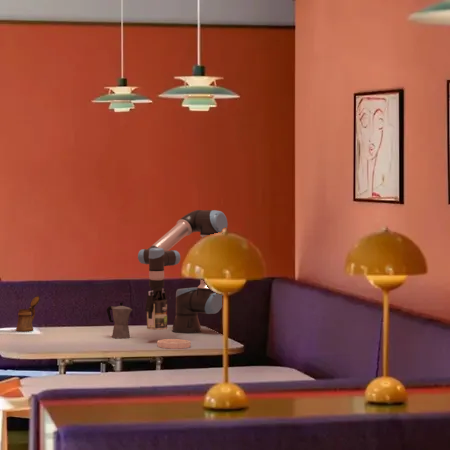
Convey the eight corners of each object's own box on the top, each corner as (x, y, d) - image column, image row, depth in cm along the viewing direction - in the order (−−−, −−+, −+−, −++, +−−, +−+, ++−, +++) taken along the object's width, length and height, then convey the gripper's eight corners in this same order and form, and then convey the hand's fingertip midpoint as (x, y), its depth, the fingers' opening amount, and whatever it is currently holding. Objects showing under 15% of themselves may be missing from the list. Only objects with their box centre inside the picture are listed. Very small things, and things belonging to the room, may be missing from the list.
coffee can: (169, 327, 601) (169, 299, 600) (164, 330, 591) (164, 301, 590) (149, 326, 603) (149, 298, 602) (144, 329, 593) (144, 301, 592)
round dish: (168, 343, 592) (168, 338, 592) (196, 345, 584) (196, 340, 584) (151, 346, 578) (151, 341, 578) (179, 349, 570) (179, 344, 570)
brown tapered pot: (43, 330, 636) (44, 296, 635) (22, 332, 626) (22, 297, 626) (34, 328, 642) (34, 294, 641) (12, 330, 633) (12, 296, 632)
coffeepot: (136, 337, 611) (137, 302, 611) (126, 339, 603) (127, 303, 602) (111, 335, 619) (112, 300, 618) (101, 337, 611) (101, 301, 610)
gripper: (162, 276, 607) (162, 320, 609) (137, 281, 587) (138, 326, 589) (174, 277, 604) (175, 321, 605) (150, 281, 584) (151, 327, 585)
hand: (156, 323), depth 597 cm, fingers closed on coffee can, 10 cm apart
